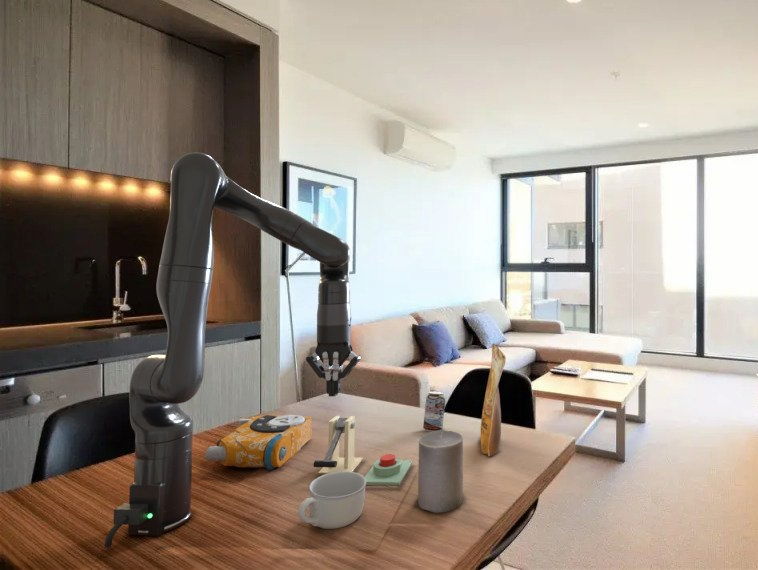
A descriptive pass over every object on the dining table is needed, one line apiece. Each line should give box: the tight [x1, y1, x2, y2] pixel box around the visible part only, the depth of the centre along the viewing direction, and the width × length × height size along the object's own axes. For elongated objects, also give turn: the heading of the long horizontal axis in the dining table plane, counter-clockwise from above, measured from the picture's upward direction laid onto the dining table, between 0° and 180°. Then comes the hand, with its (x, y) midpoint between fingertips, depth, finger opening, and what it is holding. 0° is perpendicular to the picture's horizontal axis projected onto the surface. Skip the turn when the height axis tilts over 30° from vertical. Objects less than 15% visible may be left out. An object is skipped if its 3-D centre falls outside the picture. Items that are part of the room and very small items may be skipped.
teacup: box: [297, 471, 367, 530], centre depth 90 cm, size 14×11×8 cm
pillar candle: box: [417, 430, 464, 514], centre depth 99 cm, size 10×10×15 cm
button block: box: [364, 457, 413, 486], centre depth 111 cm, size 12×9×4 cm
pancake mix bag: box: [479, 343, 507, 457], centre depth 131 cm, size 7×19×28 cm, turn 4°
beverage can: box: [422, 390, 446, 432], centre depth 143 cm, size 6×7×12 cm
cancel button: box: [379, 453, 396, 467], centre depth 111 cm, size 4×4×2 cm
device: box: [204, 414, 313, 471], centre depth 126 cm, size 23×8×30 cm
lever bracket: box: [317, 415, 364, 474], centre depth 115 cm, size 9×8×13 cm
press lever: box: [313, 417, 348, 468], centre depth 111 cm, size 13×5×2 cm, turn 178°
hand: (333, 395), depth 107 cm, fingers closed
